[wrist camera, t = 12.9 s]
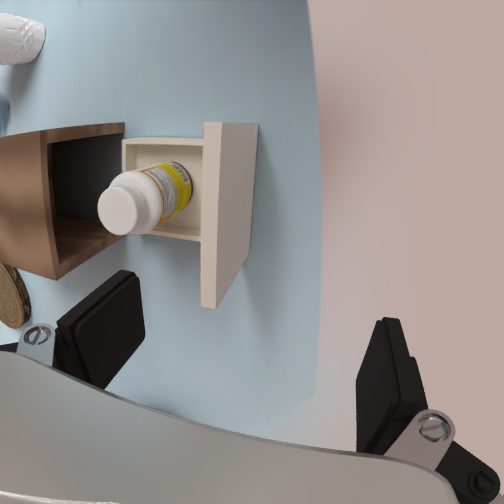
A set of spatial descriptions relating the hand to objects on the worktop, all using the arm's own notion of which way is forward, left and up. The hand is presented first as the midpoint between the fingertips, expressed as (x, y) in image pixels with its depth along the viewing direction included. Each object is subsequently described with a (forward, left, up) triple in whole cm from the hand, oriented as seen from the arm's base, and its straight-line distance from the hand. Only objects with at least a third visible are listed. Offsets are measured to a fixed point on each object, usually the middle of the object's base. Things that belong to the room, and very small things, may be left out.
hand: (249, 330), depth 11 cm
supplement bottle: (0, -13, -21) cm, 25 cm away
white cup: (-21, -39, -22) cm, 50 cm away
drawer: (0, -11, -22) cm, 25 cm away
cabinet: (0, -27, -22) cm, 35 cm away
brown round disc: (+22, -53, -23) cm, 62 cm away
